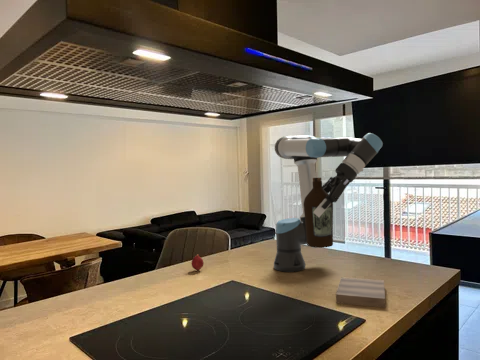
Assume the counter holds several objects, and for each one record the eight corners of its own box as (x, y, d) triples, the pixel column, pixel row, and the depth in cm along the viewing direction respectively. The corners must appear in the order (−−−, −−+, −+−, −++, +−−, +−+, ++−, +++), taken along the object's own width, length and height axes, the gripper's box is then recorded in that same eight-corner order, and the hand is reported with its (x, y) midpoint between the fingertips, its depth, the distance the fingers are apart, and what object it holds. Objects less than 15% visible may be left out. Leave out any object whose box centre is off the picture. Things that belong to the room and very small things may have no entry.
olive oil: (301, 243, 134) (298, 178, 133) (328, 241, 135) (325, 176, 134) (310, 249, 123) (307, 178, 123) (339, 246, 125) (336, 177, 124)
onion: (192, 272, 167) (191, 256, 166) (191, 269, 172) (190, 253, 172) (204, 271, 168) (203, 255, 167) (203, 268, 173) (202, 252, 173)
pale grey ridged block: (341, 284, 141) (341, 277, 141) (384, 287, 135) (383, 280, 135) (336, 302, 123) (335, 294, 123) (385, 307, 117) (385, 298, 117)
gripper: (371, 175, 119) (329, 224, 117) (343, 175, 142) (308, 215, 140) (356, 160, 118) (314, 209, 117) (330, 162, 141) (294, 203, 140)
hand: (310, 213), depth 128 cm, fingers closed on olive oil, 10 cm apart
